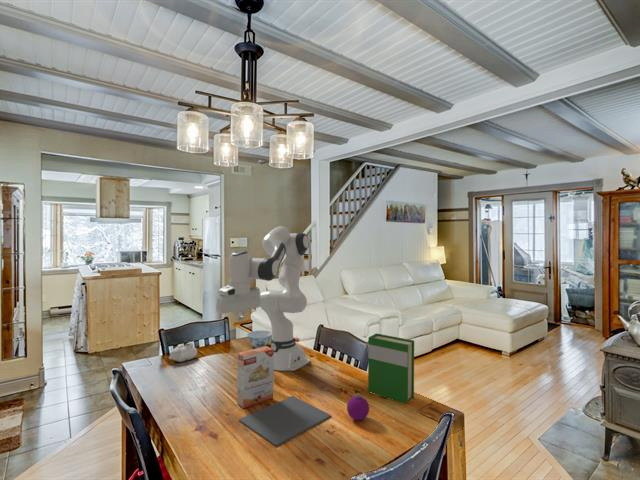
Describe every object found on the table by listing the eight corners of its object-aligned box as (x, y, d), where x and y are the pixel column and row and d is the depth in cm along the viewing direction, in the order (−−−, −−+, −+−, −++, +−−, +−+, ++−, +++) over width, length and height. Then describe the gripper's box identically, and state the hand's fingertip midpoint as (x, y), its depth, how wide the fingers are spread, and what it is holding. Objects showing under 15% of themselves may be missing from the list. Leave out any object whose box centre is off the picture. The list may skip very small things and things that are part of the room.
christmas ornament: (346, 412, 132) (346, 387, 132) (367, 413, 132) (367, 387, 131) (347, 424, 124) (347, 397, 124) (370, 425, 123) (370, 397, 123)
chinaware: (243, 349, 204) (243, 336, 204) (252, 342, 219) (252, 329, 219) (267, 351, 201) (267, 338, 201) (275, 343, 216) (275, 331, 216)
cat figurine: (197, 339, 193) (170, 342, 182) (202, 349, 188) (175, 353, 177) (191, 352, 196) (164, 355, 185) (196, 362, 191) (169, 367, 180)
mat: (292, 397, 144) (292, 395, 144) (331, 416, 129) (331, 415, 129) (238, 420, 126) (238, 419, 126) (276, 447, 111) (276, 445, 111)
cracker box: (243, 409, 134) (243, 356, 134) (236, 403, 139) (236, 352, 138) (274, 398, 143) (274, 348, 143) (266, 393, 148) (266, 345, 147)
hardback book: (413, 397, 145) (414, 340, 144) (407, 404, 139) (407, 345, 138) (375, 386, 155) (376, 333, 155) (368, 392, 149) (368, 337, 149)
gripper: (255, 285, 158) (255, 315, 158) (214, 290, 144) (214, 323, 144) (263, 286, 154) (263, 317, 154) (222, 292, 139) (222, 326, 139)
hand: (239, 320), depth 149 cm, fingers closed
